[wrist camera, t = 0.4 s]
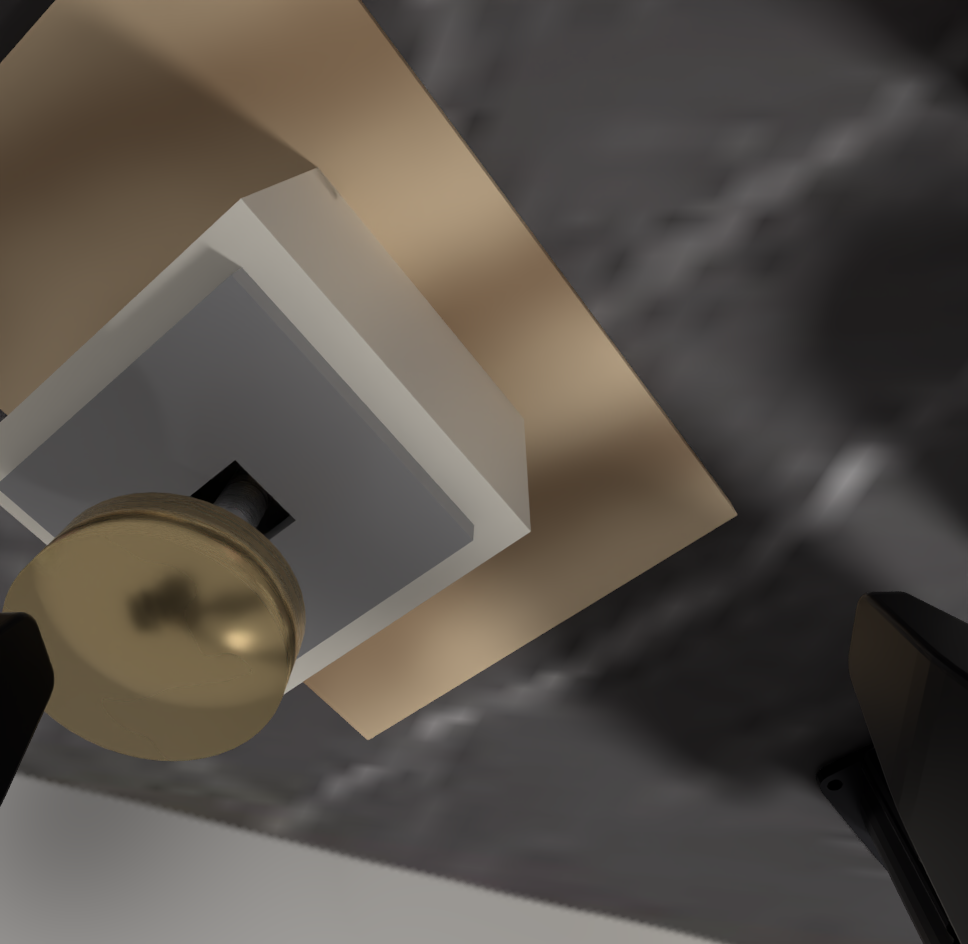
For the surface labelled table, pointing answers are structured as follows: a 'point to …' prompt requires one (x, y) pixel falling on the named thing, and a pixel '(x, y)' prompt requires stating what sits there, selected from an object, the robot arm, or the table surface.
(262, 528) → the gold push button
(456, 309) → the serving board
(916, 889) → the robot arm
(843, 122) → the table surface
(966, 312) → the table surface
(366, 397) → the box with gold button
